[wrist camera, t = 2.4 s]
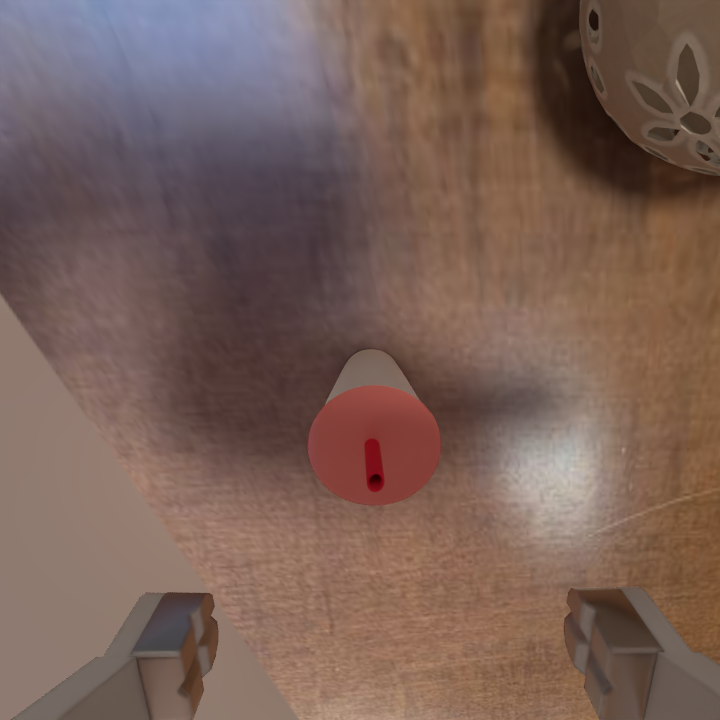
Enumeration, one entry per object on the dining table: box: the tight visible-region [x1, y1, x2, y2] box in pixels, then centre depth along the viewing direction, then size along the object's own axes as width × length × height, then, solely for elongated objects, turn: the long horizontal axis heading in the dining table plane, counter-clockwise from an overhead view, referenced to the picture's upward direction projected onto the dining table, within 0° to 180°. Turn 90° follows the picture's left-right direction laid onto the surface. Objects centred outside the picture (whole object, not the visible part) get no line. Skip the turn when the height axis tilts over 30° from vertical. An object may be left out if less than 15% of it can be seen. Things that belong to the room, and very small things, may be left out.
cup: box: [308, 349, 441, 505], centre depth 21 cm, size 5×5×12 cm
